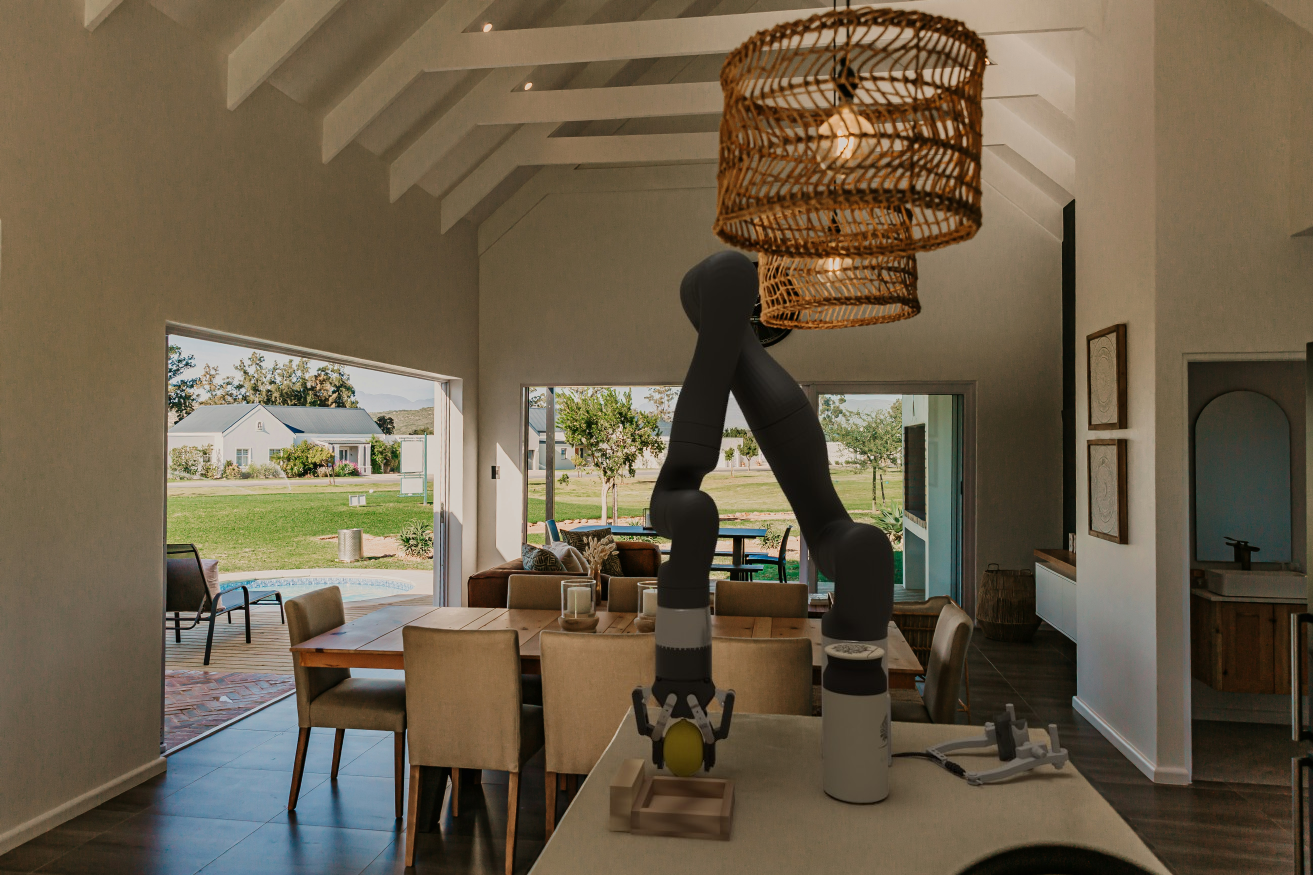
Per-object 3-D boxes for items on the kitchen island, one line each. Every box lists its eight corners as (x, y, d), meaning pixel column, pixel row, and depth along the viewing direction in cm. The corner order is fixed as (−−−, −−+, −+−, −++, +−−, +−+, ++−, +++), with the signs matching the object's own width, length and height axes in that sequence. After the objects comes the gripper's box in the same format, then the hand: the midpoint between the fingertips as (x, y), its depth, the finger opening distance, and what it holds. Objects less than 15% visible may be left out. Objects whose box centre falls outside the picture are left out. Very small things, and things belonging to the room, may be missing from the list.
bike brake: (1015, 741, 123) (891, 772, 119) (1008, 695, 123) (884, 725, 119) (1079, 776, 110) (943, 812, 106) (1072, 725, 110) (935, 759, 106)
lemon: (701, 789, 107) (701, 726, 107) (659, 786, 108) (659, 723, 108) (707, 773, 112) (707, 713, 113) (667, 770, 114) (667, 711, 114)
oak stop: (644, 800, 103) (644, 759, 104) (631, 831, 95) (631, 786, 95) (624, 799, 104) (624, 758, 104) (609, 830, 95) (609, 785, 95)
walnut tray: (734, 804, 103) (734, 779, 103) (728, 843, 92) (728, 816, 93) (646, 799, 105) (646, 775, 105) (630, 837, 94) (630, 810, 94)
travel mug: (812, 794, 105) (811, 650, 106) (840, 776, 112) (838, 640, 112) (873, 810, 100) (871, 659, 101) (898, 790, 107) (896, 647, 107)
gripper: (739, 635, 114) (740, 761, 113) (635, 632, 116) (635, 756, 115) (736, 647, 106) (736, 782, 106) (624, 643, 108) (624, 776, 108)
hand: (683, 768), depth 110 cm, fingers closed on lemon, 5 cm apart
